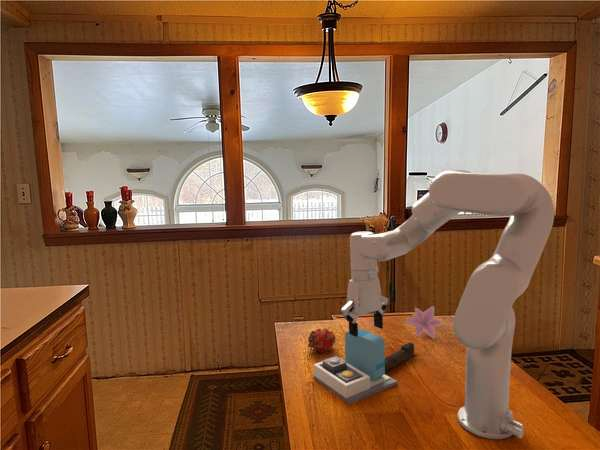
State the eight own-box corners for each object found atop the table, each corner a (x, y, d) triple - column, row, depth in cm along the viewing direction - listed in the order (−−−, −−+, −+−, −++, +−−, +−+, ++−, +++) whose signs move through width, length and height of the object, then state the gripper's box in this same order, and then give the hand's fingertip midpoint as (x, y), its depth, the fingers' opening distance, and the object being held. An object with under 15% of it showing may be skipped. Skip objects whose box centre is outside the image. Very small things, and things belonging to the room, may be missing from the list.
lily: (400, 334, 155) (403, 317, 149) (415, 315, 162) (418, 298, 156) (429, 350, 149) (433, 334, 143) (444, 330, 155) (448, 313, 150)
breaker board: (397, 384, 117) (397, 369, 116) (349, 404, 107) (349, 388, 107) (357, 362, 131) (357, 348, 130) (313, 377, 122) (312, 363, 121)
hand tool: (385, 376, 122) (385, 361, 121) (374, 371, 125) (374, 357, 124) (421, 357, 134) (421, 343, 133) (410, 353, 137) (410, 340, 136)
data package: (385, 377, 118) (385, 337, 117) (375, 382, 116) (375, 342, 114) (354, 363, 128) (354, 326, 126) (344, 367, 125) (344, 330, 123)
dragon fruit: (306, 359, 137) (331, 354, 144) (320, 351, 131) (347, 346, 139) (298, 335, 141) (324, 331, 148) (312, 326, 135) (338, 322, 143)
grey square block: (346, 372, 119) (346, 361, 118) (333, 376, 116) (332, 366, 115) (336, 365, 123) (335, 355, 122) (322, 370, 120) (322, 359, 120)
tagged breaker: (360, 385, 114) (360, 374, 113) (346, 391, 111) (346, 379, 111) (348, 378, 118) (348, 367, 117) (335, 383, 115) (335, 372, 115)
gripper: (377, 267, 125) (378, 321, 127) (332, 277, 116) (335, 334, 118) (395, 271, 119) (396, 327, 121) (349, 281, 110) (351, 342, 112)
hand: (366, 331), depth 119 cm, fingers open, 9 cm apart
